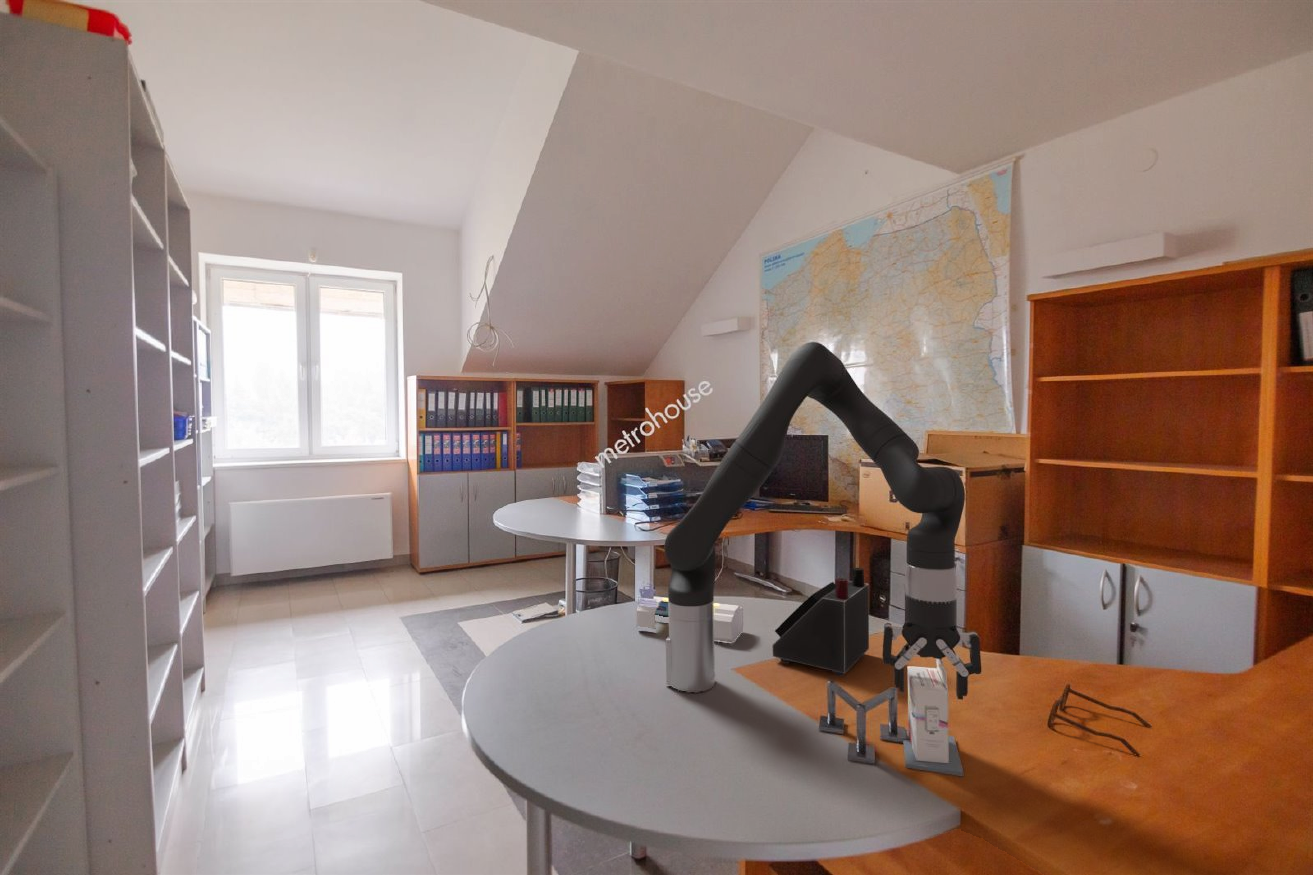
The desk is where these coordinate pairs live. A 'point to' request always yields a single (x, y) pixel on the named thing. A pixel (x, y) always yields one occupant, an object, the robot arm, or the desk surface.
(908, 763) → the pad
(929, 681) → the ink cartridge box
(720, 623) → the diorama
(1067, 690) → the glasses
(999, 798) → the desk surface
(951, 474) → the robot arm
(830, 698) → the grey metal legged frame
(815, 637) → the voltmeter
